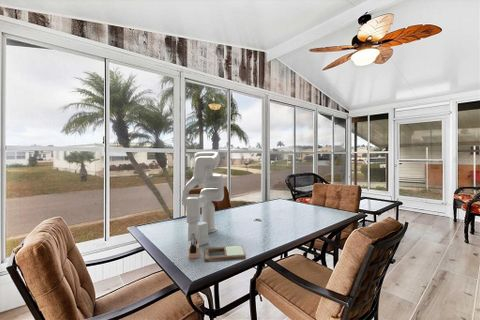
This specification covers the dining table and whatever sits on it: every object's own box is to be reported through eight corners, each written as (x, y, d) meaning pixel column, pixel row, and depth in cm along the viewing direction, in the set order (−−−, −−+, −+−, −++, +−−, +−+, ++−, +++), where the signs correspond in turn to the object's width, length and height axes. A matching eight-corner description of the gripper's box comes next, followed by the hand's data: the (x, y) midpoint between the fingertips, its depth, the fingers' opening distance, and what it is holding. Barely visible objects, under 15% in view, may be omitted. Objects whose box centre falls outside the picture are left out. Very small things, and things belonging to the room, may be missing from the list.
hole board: (205, 250, 131) (205, 247, 131) (241, 247, 134) (241, 244, 134) (204, 261, 117) (204, 258, 117) (245, 258, 120) (245, 255, 120)
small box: (208, 243, 142) (208, 222, 142) (200, 246, 137) (200, 225, 137) (200, 239, 148) (200, 220, 147) (192, 242, 143) (192, 222, 143)
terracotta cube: (189, 254, 127) (189, 244, 126) (199, 253, 127) (199, 243, 127) (188, 258, 121) (188, 248, 121) (198, 257, 122) (198, 247, 122)
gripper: (188, 215, 132) (188, 244, 132) (184, 223, 115) (185, 256, 115) (200, 214, 133) (201, 243, 133) (199, 223, 116) (200, 255, 116)
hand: (193, 249), depth 124 cm, fingers open, 9 cm apart
